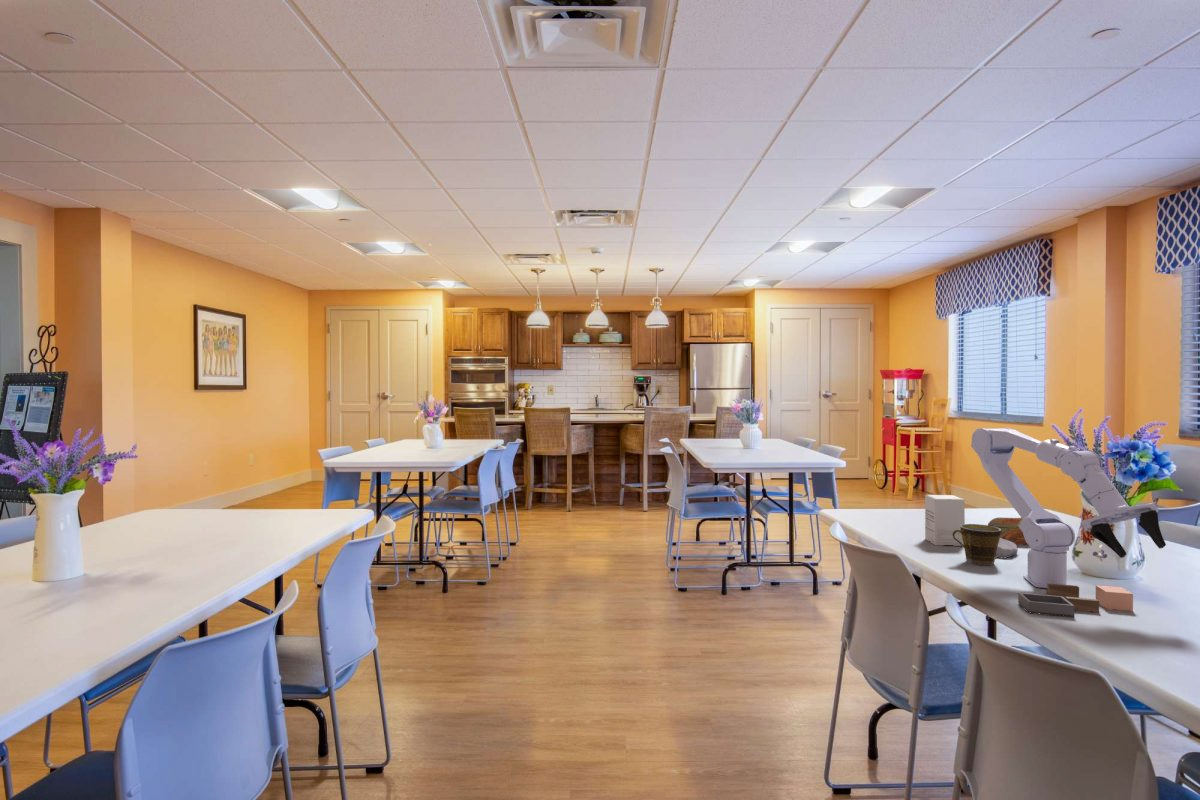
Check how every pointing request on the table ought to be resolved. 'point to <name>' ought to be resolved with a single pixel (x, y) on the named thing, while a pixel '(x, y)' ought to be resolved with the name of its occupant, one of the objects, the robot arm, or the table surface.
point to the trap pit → (1046, 604)
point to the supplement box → (944, 519)
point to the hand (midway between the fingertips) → (1143, 551)
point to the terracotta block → (1114, 597)
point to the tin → (1009, 529)
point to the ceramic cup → (979, 543)
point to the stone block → (1006, 548)
